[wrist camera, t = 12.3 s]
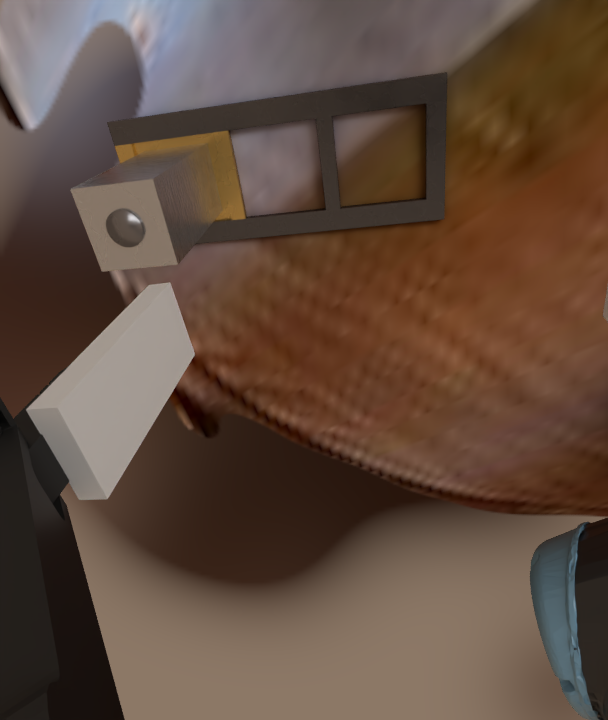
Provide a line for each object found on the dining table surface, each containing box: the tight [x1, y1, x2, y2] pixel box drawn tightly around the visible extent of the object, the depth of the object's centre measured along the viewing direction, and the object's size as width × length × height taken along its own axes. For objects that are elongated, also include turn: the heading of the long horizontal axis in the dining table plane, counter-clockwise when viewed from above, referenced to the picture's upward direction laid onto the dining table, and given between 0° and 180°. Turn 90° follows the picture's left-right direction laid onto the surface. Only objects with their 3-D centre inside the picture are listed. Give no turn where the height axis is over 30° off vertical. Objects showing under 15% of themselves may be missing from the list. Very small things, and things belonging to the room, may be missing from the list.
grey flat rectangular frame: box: [107, 72, 447, 244], centre depth 36 cm, size 10×24×1 cm, turn 98°
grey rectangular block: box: [70, 143, 223, 272], centre depth 33 cm, size 5×5×11 cm
